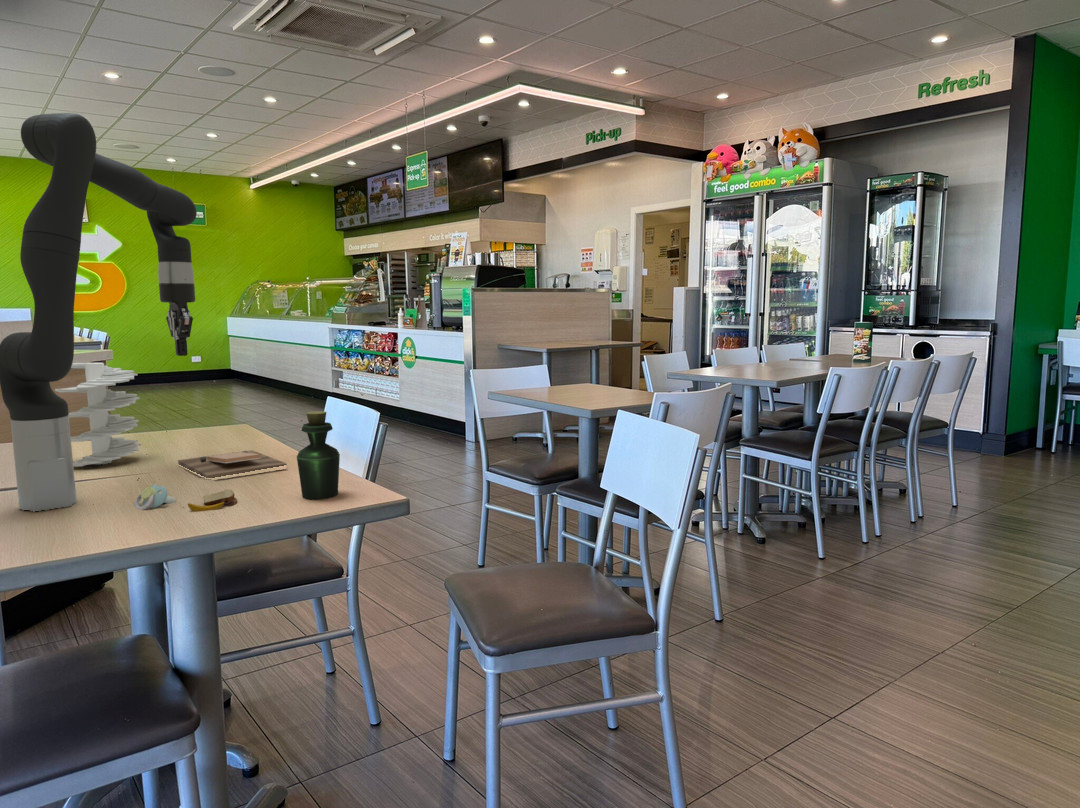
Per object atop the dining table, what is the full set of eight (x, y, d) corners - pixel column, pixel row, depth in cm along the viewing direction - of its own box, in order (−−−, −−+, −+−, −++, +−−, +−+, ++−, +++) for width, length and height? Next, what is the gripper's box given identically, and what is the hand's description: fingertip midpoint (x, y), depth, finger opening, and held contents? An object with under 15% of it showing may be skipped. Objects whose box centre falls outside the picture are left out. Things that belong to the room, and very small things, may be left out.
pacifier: (126, 505, 140) (146, 478, 143) (154, 520, 144) (173, 494, 147) (141, 513, 136) (161, 485, 138) (169, 528, 140) (188, 501, 142)
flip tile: (240, 452, 183) (241, 456, 183) (207, 456, 178) (207, 460, 178) (260, 454, 173) (260, 458, 173) (225, 458, 168) (225, 463, 168)
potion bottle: (320, 495, 151) (316, 408, 149) (350, 500, 148) (346, 411, 145) (290, 504, 144) (285, 413, 142) (320, 509, 140) (316, 416, 138)
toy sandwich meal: (183, 509, 143) (181, 491, 142) (239, 504, 146) (238, 486, 145) (176, 522, 134) (174, 503, 133) (236, 517, 137) (235, 498, 137)
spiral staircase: (155, 461, 185) (147, 362, 181) (76, 474, 172) (66, 367, 168) (127, 452, 197) (120, 359, 193) (51, 463, 184) (41, 363, 180)
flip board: (287, 469, 175) (286, 458, 175) (208, 482, 163) (207, 470, 163) (252, 455, 191) (251, 445, 191) (178, 466, 180) (177, 455, 179)
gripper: (202, 281, 171) (207, 356, 173) (185, 283, 181) (189, 353, 183) (167, 281, 166) (173, 357, 168) (151, 282, 176) (157, 355, 178)
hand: (181, 355), depth 176 cm, fingers closed
